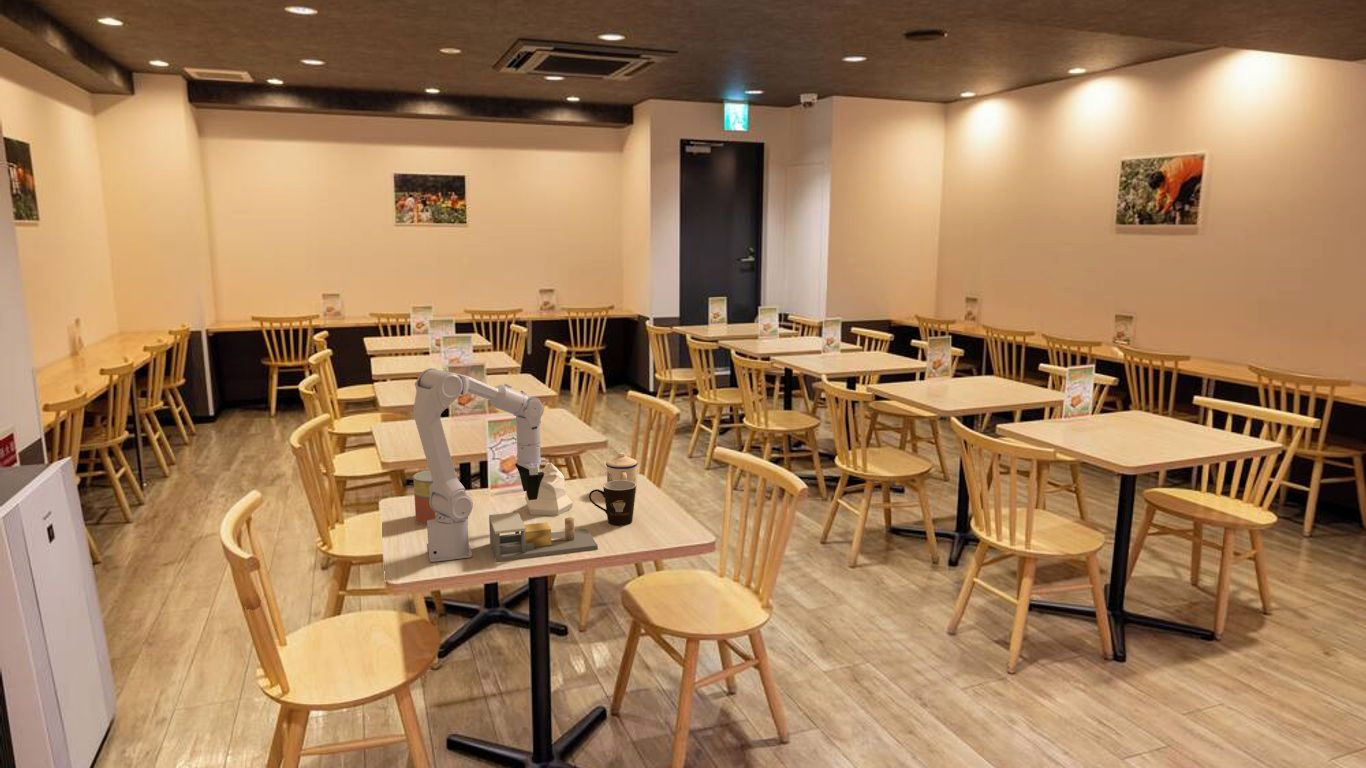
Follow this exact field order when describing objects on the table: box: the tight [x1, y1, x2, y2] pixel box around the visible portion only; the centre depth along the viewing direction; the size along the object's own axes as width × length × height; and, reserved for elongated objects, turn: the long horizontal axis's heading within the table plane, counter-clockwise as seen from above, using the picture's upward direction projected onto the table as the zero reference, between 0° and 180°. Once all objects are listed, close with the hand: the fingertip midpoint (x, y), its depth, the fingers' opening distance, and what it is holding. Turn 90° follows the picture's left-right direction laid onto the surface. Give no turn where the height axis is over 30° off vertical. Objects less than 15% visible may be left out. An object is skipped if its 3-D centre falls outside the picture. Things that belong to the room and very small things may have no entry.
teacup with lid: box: [605, 452, 638, 494], centre depth 248 cm, size 12×9×12 cm
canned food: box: [412, 469, 459, 527], centre depth 226 cm, size 11×11×12 cm
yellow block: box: [524, 517, 575, 547], centre depth 208 cm, size 12×5×5 cm, turn 109°
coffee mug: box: [588, 480, 637, 527], centre depth 225 cm, size 12×9×10 cm
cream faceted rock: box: [524, 462, 574, 516], centre depth 234 cm, size 12×15×14 cm
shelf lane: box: [488, 511, 599, 562], centre depth 207 cm, size 24×12×7 cm, turn 109°
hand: (530, 494), depth 217 cm, fingers open, 7 cm apart
